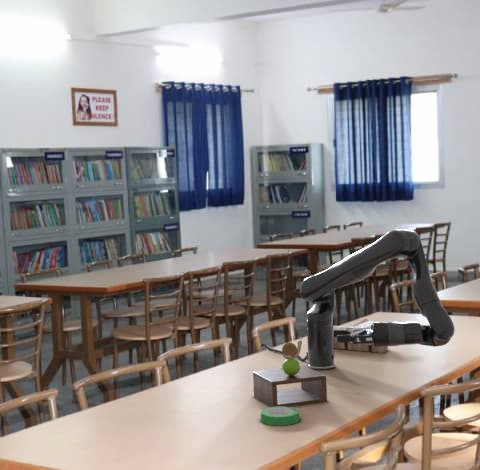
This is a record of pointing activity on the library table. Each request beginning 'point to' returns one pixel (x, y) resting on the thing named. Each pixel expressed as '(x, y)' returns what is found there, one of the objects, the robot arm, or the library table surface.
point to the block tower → (356, 346)
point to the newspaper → (365, 324)
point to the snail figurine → (291, 358)
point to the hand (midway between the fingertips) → (335, 336)
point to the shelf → (307, 394)
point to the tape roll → (280, 415)
